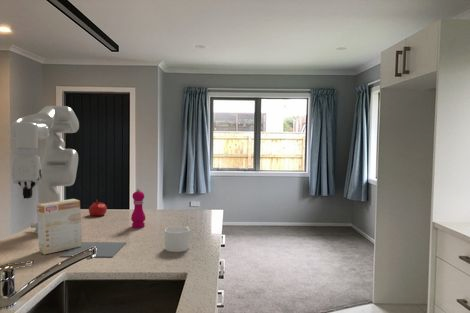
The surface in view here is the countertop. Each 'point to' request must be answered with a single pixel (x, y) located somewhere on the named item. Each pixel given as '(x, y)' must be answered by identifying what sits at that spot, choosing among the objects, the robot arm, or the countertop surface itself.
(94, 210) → the pomegranate
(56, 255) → the countertop surface
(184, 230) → the mug
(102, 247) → the mat
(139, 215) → the pepper mill
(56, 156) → the robot arm
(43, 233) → the coffeecake box
